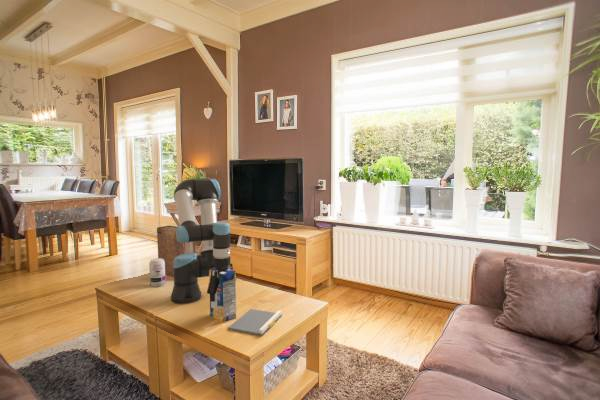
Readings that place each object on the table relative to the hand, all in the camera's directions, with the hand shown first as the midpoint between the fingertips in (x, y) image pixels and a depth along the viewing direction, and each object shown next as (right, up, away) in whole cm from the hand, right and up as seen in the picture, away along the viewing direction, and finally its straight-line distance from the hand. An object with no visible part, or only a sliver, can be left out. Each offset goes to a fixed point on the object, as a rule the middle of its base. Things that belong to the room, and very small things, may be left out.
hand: (222, 302), depth 153 cm
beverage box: (0, -7, +1) cm, 7 cm away
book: (-44, -1, +62) cm, 76 cm away
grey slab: (+16, -7, -5) cm, 18 cm away
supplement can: (-48, -3, +42) cm, 64 cm away
